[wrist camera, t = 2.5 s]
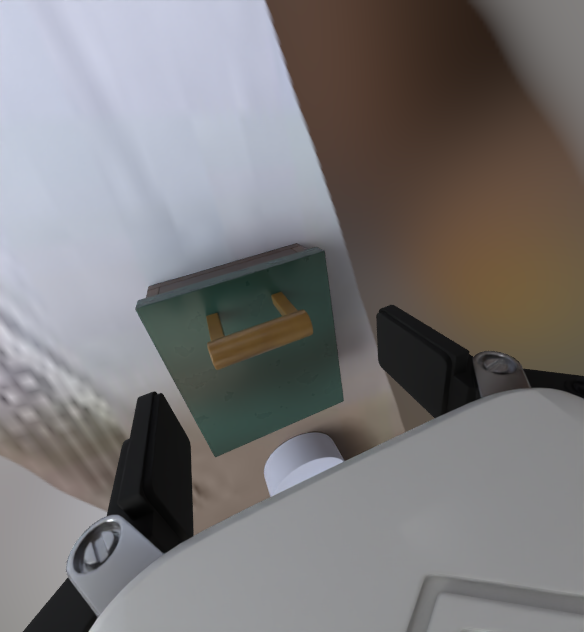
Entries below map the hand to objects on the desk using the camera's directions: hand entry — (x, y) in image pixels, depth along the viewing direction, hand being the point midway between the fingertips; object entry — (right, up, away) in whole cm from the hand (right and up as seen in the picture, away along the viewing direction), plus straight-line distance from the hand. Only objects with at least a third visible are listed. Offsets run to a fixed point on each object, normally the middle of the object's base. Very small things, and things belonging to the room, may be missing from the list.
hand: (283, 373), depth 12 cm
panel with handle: (-2, -1, +8) cm, 9 cm away
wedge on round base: (+2, -16, +23) cm, 28 cm away
